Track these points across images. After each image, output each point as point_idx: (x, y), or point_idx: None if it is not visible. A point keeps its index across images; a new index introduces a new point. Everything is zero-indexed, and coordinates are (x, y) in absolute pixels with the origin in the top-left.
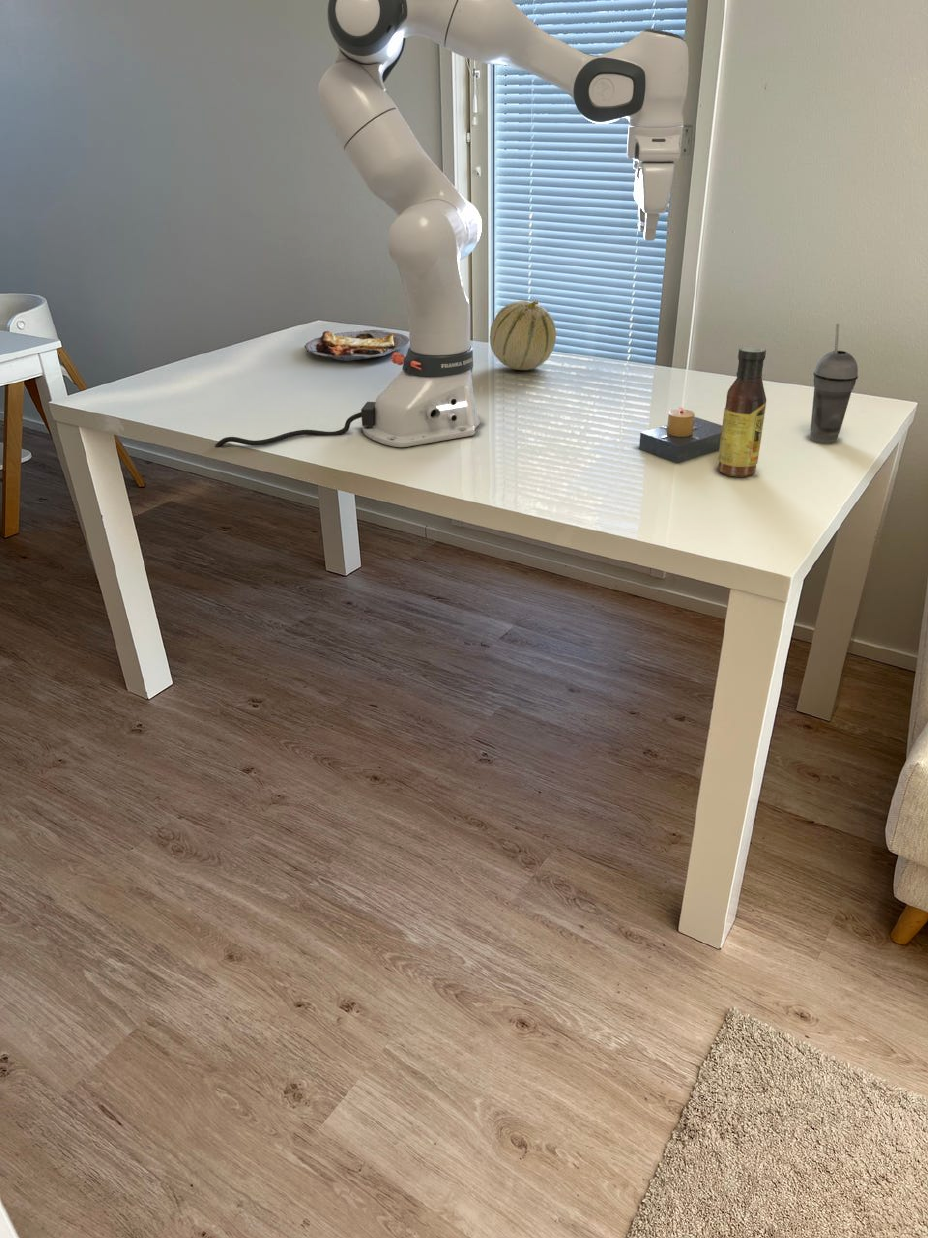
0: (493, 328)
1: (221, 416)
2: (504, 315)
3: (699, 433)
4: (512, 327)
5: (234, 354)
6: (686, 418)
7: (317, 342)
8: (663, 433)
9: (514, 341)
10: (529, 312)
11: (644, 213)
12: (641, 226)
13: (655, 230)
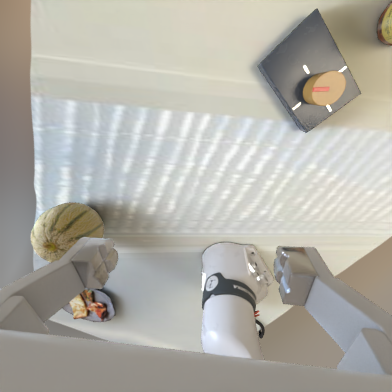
0: None
1: None
2: None
3: (324, 63)
4: None
5: (113, 338)
6: (345, 83)
7: (88, 317)
8: (314, 108)
9: None
10: (65, 246)
11: (48, 299)
12: (108, 269)
13: (331, 273)
